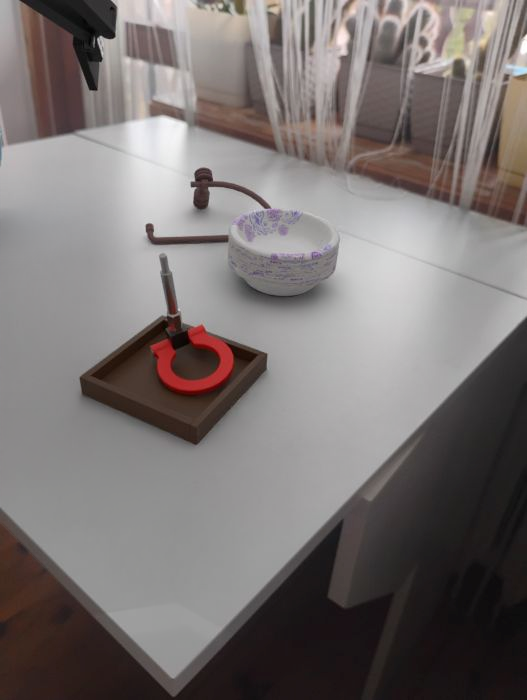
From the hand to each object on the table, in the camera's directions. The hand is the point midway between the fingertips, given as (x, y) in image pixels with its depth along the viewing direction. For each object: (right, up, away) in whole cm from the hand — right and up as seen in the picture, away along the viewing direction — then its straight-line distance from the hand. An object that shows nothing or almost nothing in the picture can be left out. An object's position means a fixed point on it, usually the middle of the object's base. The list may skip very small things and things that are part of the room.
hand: (19, 73), depth 57 cm
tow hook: (+15, -27, +12) cm, 33 cm away
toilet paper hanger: (+13, -4, +47) cm, 49 cm away
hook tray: (+13, -29, +12) cm, 34 cm away
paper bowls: (+25, -16, +32) cm, 44 cm away
